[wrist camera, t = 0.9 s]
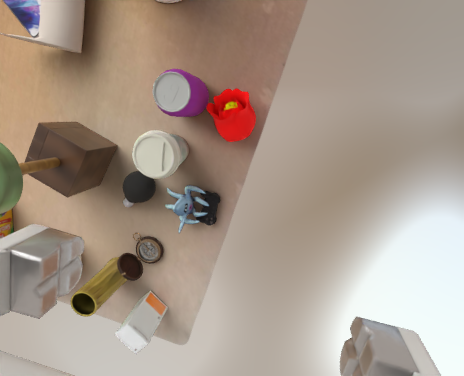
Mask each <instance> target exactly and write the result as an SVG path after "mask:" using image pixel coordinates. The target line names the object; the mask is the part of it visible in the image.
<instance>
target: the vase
mask: <svg viewBox="0 0 464 376" xmlns="http://www.w3.org/2000/svg"><path fill="white" fill-rule="evenodd" d="M118 259H119V257H118V258H113V259H111V260H110V261H109V262H108V264H107V265H106V266H105V267H104V268H103V269H102V270H101V271H100V272H99V273H98V274H96V275H95V276H94V277H93V278H92V279H91V280H90V281H88V282H87V283H86V284H85V285H84V286H83V287H81V288H80V289H79V290H78V291H77V292H76V293H74V295H73V296H72V298H71V307H72V308H73V310H74V311H75V312H76V313H77V314H79V315H81V316H91V315H92V314H94V313H95V312H96V311H97V310H98V309H99V308H100V306H101V305H102V304H103V303H104V302H105V301H106V300H107V299H108V298H109V297H110V296H111V295H112V294H113V293H114V292H115V291H116V290H117V289H118V288H119V287H120V286H121V285H123V284H124V283H125V282H126V281H127V279H126V278H124V277H123V276H122V275H121V274H120V272H119V270H118V268H117V260H118Z"/></svg>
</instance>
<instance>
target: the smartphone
mask: <svg viewBox="0 0 464 376" xmlns="http://www.w3.org/2000/svg"><path fill="white" fill-rule="evenodd" d="M3 1H4V3H5V4H6V5H7V6H8V8H9V9H10V10H11V11H12V13H13V14H14V15H15V16H16V18H17V19H18V20H19V21H20V23H21V24H22V25H23V26H24V28H25V29H26V30H27V31H28V33H29V34H30V35H31V36H32V37H33V38H37V37H39V23H40V9H41V0H3Z"/></svg>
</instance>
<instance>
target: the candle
mask: <svg viewBox="0 0 464 376" xmlns="http://www.w3.org/2000/svg"><path fill="white" fill-rule="evenodd" d="M84 9H85V0H41V9H40V23H39V37H37V38H29V37H24V36H18V35H8V34H3V33H0V34H2V35H5V36H8V37H12V38H16V39H20V40H24V41H28V42H32V43H36V44H40V45H45V46H49V47H53V48H58V49H62V50H66V51H71V52H76V53H81V50H82V38H83V26H84Z"/></svg>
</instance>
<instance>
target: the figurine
mask: <svg viewBox="0 0 464 376" xmlns="http://www.w3.org/2000/svg"><path fill="white" fill-rule="evenodd" d="M191 191H196V192H200V193H201V195H202V196H203V197H204V198H205V199H204V200H202V199H201V198H200V197H198V196H197V197H194V198H193V197H192V196H191ZM167 192H168V193H169V194H170V196H173V197H175V198H177V199H178V201H177V202H176V203H175V205H169V204H167V205H165V207H166V208H168V209H173V212H174V213H176V214H177V215H178V216H180V221H181V223H180V227H179V233H180V231H181V229H182V228H183V226H184V223H185V224H195V223H198V222H202V223H206V224H207V225H213V224H215V222H216V211H217V206H218V203H219V202H220V196H219V195H218V194H217V193H211V192H208V191H203V190H201V189H200V188H198V187H196V186H192V185H187V186H186V187H185V194H184V195H182V194H178V193H174V192H172V191H171V190H170V189H168V188H167ZM194 201H197V202H198V203H200V204H202V206H203V207H204V208H203V209H202V210H201V212H200V213H198V212H196V210H195V207H194V203H193V202H194ZM191 213H193V215H194V216H195V217H196V220H191V219H187V218H186V217H187V215H188V214H191Z"/></svg>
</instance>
